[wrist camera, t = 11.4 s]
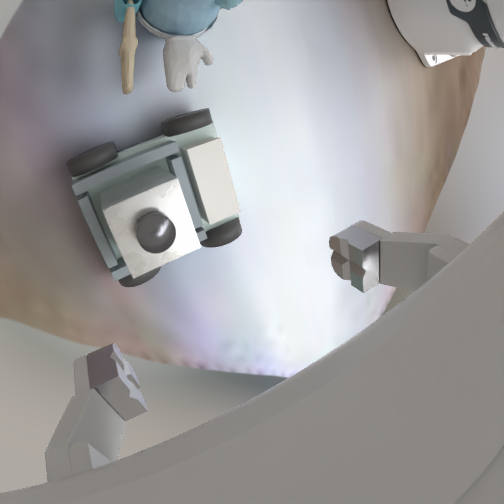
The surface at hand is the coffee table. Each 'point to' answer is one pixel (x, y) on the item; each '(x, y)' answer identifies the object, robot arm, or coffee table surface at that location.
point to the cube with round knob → (149, 220)
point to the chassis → (176, 163)
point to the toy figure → (169, 35)
